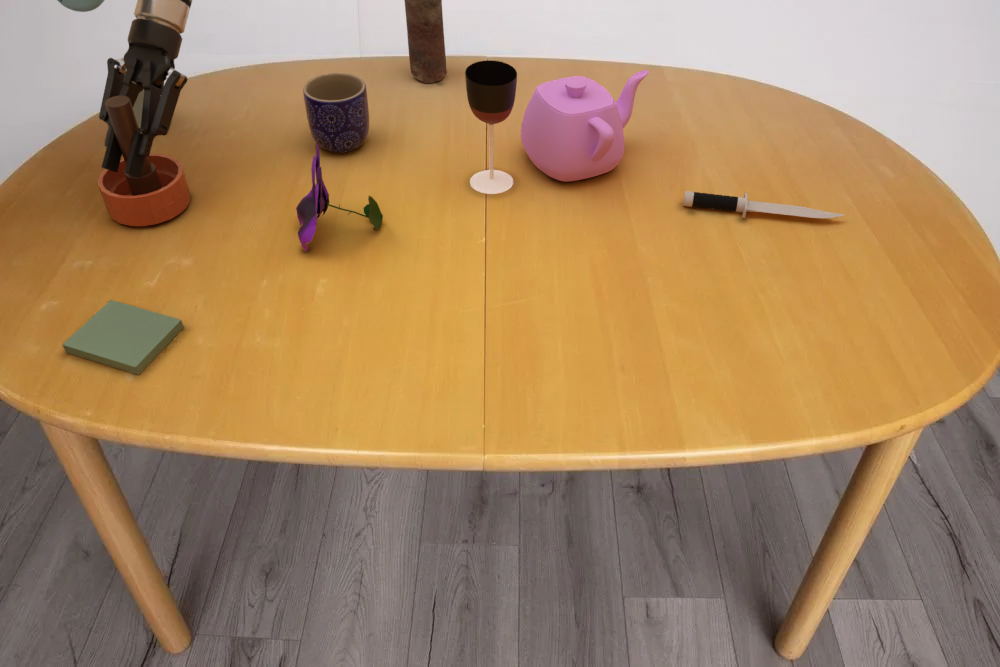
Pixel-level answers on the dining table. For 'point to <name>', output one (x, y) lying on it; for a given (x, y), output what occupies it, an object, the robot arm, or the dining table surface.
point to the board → (123, 336)
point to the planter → (337, 111)
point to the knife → (750, 205)
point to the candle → (426, 39)
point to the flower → (325, 206)
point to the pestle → (124, 132)
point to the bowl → (146, 205)
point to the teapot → (577, 126)
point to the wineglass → (491, 113)
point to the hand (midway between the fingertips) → (120, 172)
